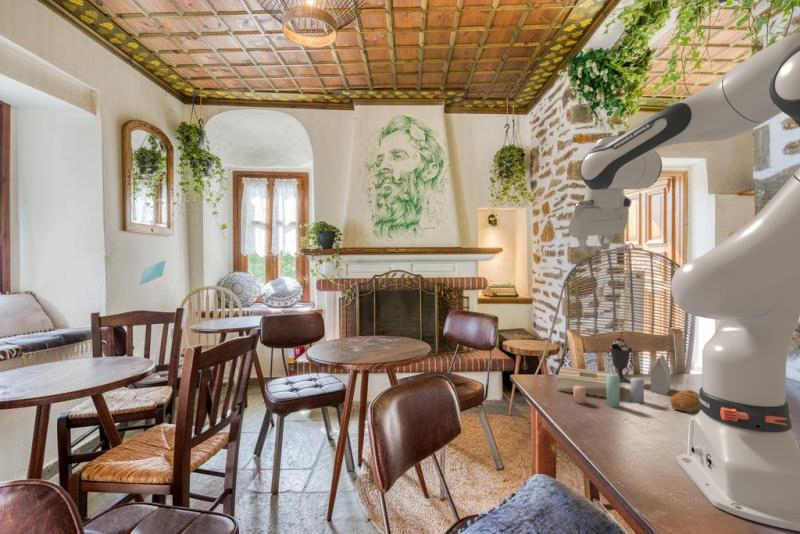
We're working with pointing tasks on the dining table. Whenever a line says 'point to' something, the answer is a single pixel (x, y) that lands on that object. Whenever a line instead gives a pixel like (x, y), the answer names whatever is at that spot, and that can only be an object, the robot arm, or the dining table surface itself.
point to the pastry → (686, 401)
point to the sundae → (620, 356)
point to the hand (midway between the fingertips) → (593, 250)
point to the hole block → (583, 380)
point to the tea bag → (660, 377)
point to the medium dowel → (637, 390)
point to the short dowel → (579, 394)
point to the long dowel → (612, 390)
